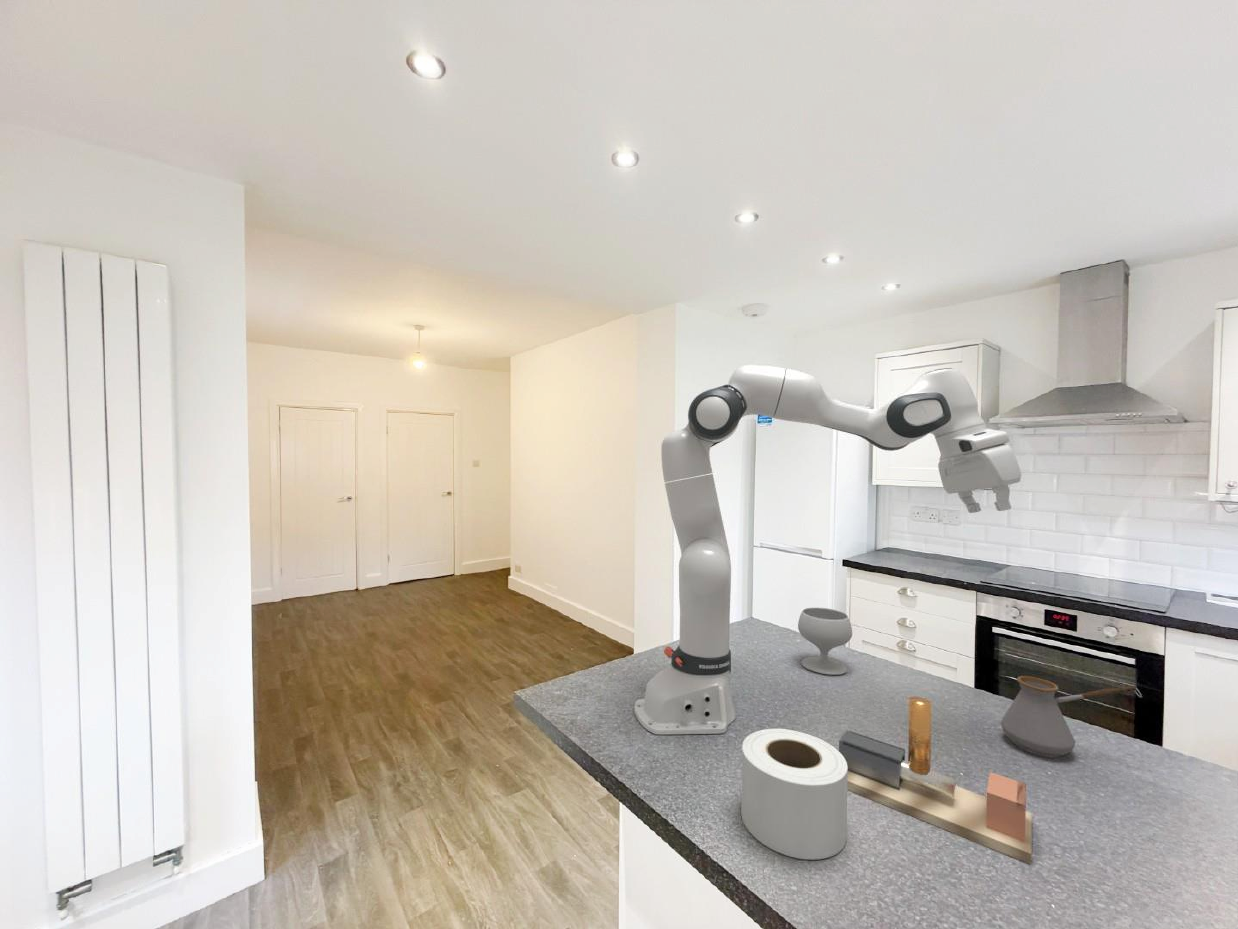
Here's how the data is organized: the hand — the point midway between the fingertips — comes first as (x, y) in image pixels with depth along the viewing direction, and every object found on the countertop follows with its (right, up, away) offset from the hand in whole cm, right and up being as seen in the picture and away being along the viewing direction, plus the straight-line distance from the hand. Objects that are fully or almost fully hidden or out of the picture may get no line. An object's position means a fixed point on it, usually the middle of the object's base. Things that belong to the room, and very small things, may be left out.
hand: (989, 511), depth 98 cm
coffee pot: (+15, -48, 0) cm, 50 cm away
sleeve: (-29, -45, -10) cm, 55 cm away
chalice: (-16, -47, +40) cm, 64 cm away
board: (-22, -47, -16) cm, 54 cm away
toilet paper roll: (-46, -47, -21) cm, 69 cm away
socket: (-14, -45, -22) cm, 53 cm away
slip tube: (-25, -44, -13) cm, 53 cm away
